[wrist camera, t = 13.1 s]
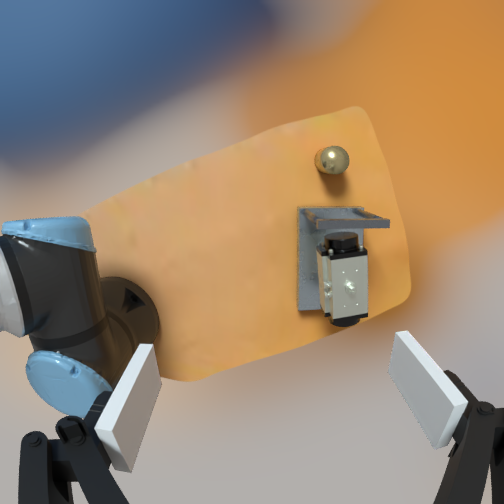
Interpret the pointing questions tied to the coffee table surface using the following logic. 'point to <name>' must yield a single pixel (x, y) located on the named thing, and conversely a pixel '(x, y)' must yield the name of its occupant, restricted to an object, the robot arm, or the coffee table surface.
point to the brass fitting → (332, 160)
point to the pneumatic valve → (343, 278)
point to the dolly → (312, 233)
